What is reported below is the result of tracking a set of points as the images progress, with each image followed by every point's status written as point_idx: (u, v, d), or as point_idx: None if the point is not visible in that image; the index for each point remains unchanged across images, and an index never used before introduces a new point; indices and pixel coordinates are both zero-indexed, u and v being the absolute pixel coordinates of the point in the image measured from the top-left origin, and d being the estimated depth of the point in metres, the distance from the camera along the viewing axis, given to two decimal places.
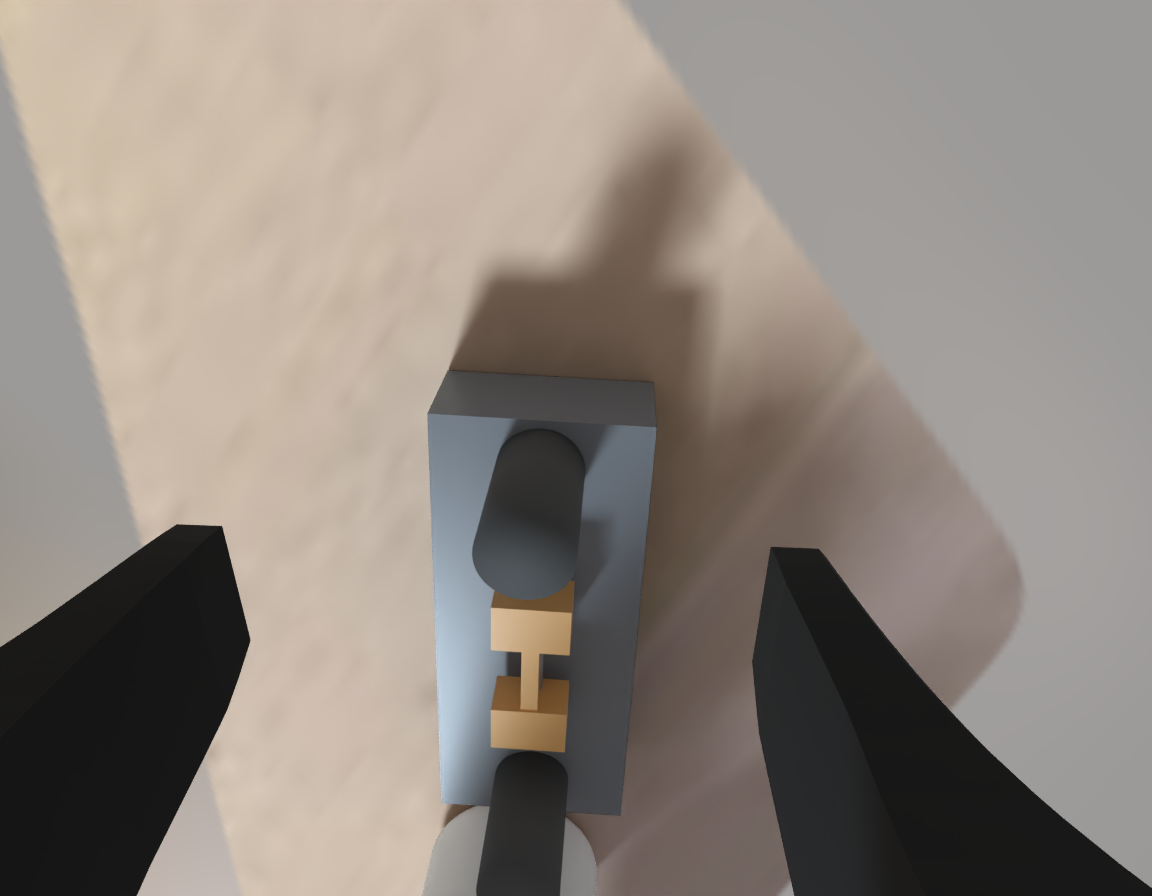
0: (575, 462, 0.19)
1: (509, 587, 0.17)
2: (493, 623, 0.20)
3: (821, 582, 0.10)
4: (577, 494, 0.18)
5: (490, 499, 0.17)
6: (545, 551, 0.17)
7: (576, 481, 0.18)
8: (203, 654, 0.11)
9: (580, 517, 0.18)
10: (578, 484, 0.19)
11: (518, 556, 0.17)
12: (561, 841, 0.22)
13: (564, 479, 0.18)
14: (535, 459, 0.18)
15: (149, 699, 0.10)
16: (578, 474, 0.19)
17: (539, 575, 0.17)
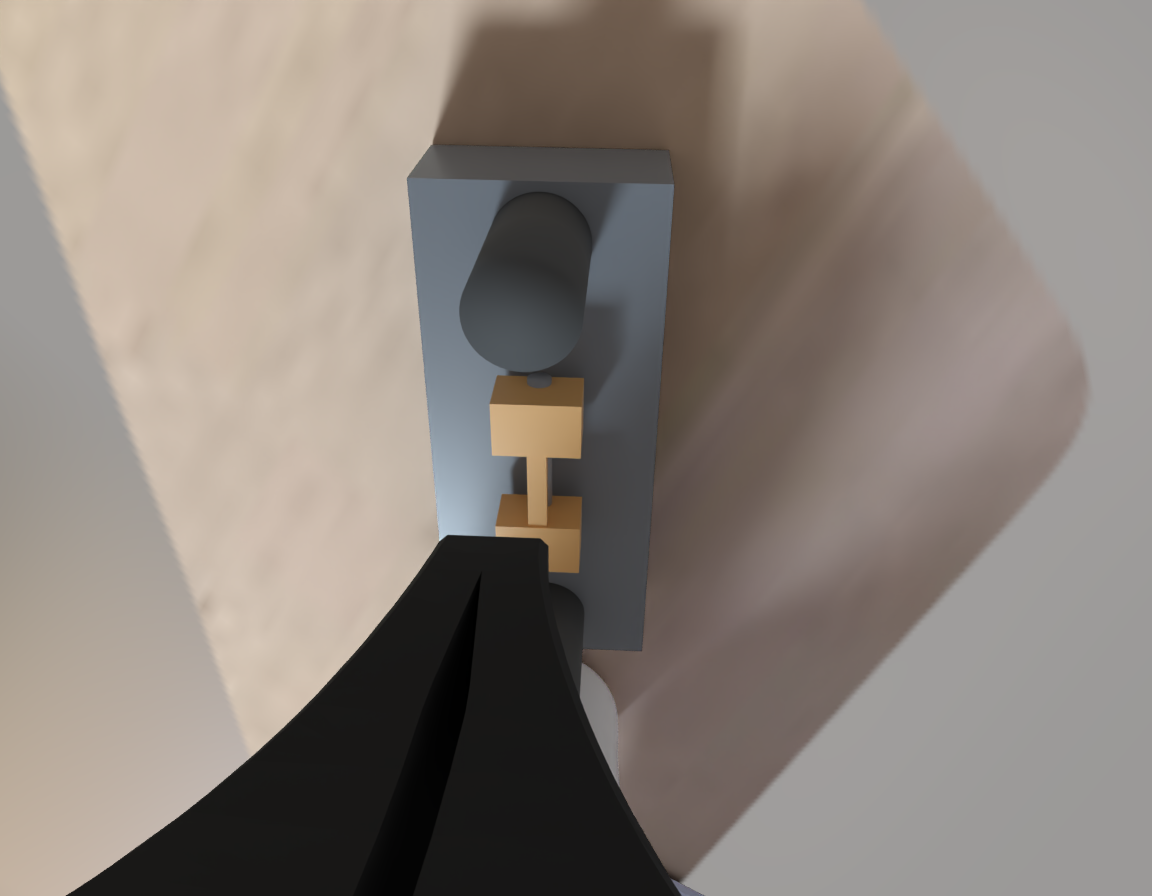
0: (579, 225, 0.16)
1: (505, 356, 0.15)
2: (493, 423, 0.18)
3: (519, 570, 0.10)
4: (582, 254, 0.16)
5: (479, 256, 0.15)
6: (545, 308, 0.14)
7: (581, 242, 0.16)
8: None
9: (586, 279, 0.15)
10: (583, 246, 0.16)
11: (513, 316, 0.14)
12: (578, 670, 0.20)
13: (567, 235, 0.15)
14: (531, 215, 0.16)
15: (460, 713, 0.10)
16: (583, 237, 0.16)
17: (539, 339, 0.15)
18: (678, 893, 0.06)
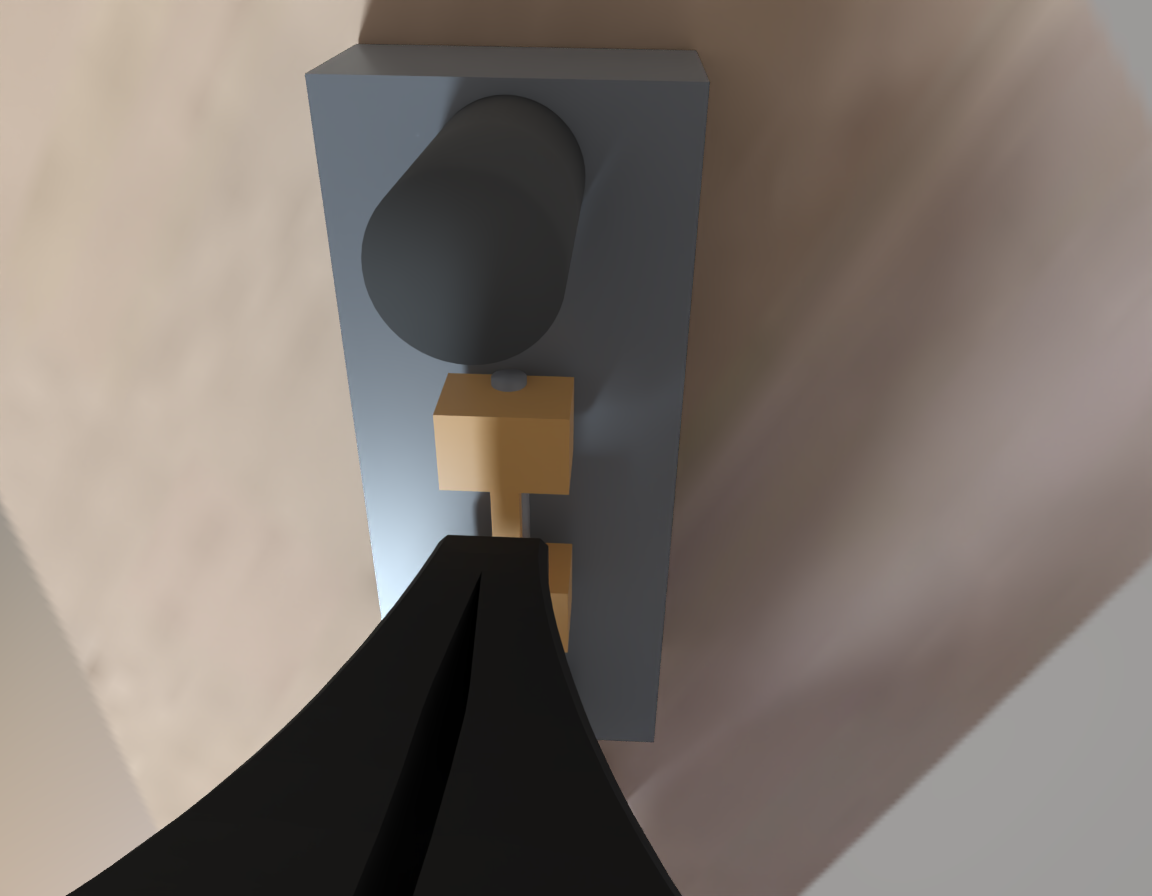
0: (564, 141, 0.11)
1: (441, 340, 0.09)
2: (439, 443, 0.12)
3: (518, 570, 0.10)
4: (567, 179, 0.10)
5: None
6: (503, 257, 0.09)
7: (566, 163, 0.10)
8: None
9: (573, 216, 0.10)
10: (570, 170, 0.10)
11: (451, 271, 0.09)
12: None
13: (541, 147, 0.10)
14: (487, 120, 0.10)
15: (460, 713, 0.10)
16: (570, 158, 0.10)
17: (495, 311, 0.09)
18: (678, 893, 0.06)
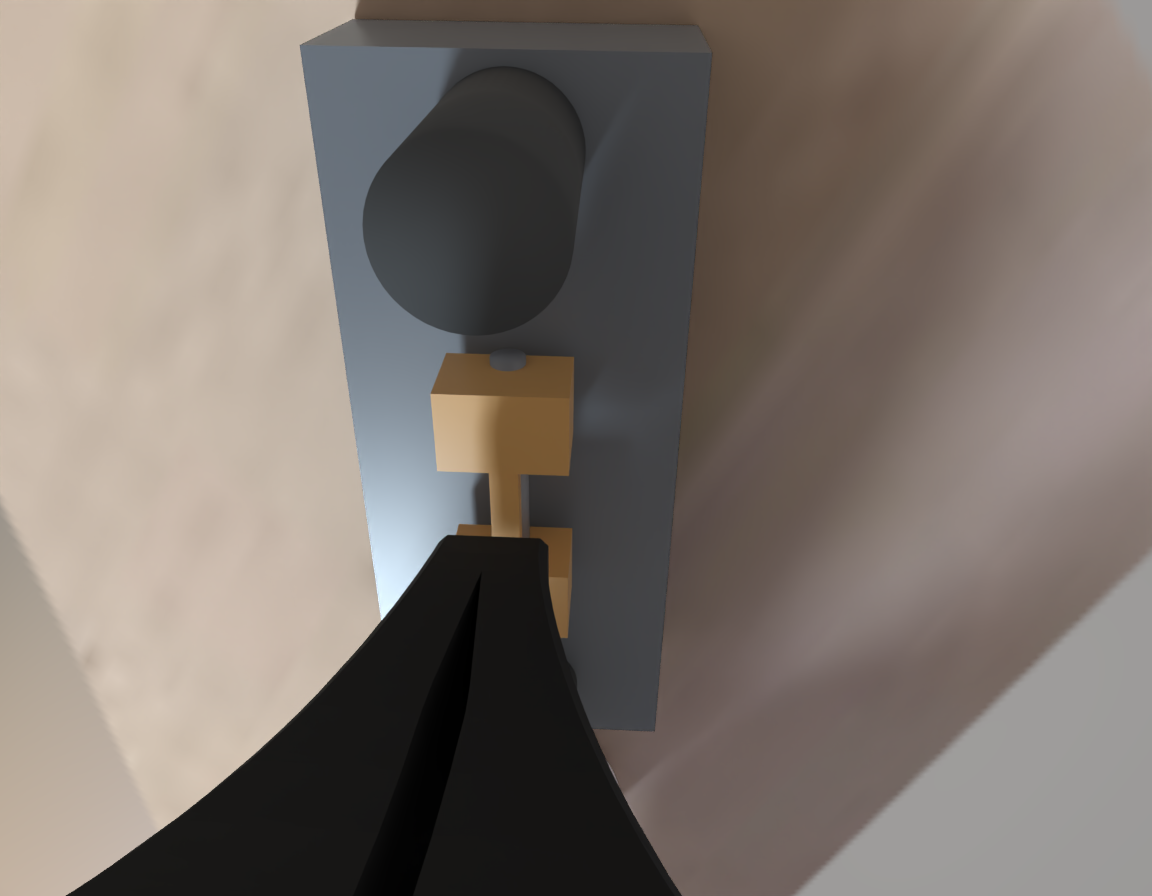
0: (564, 110, 0.10)
1: (446, 310, 0.09)
2: (437, 422, 0.12)
3: (518, 570, 0.10)
4: (570, 147, 0.10)
5: None
6: (508, 222, 0.08)
7: (568, 131, 0.10)
8: None
9: (578, 183, 0.09)
10: (572, 138, 0.10)
11: (456, 238, 0.08)
12: None
13: (543, 114, 0.09)
14: (486, 87, 0.10)
15: (460, 713, 0.10)
16: (571, 128, 0.10)
17: (501, 278, 0.09)
18: (678, 893, 0.06)
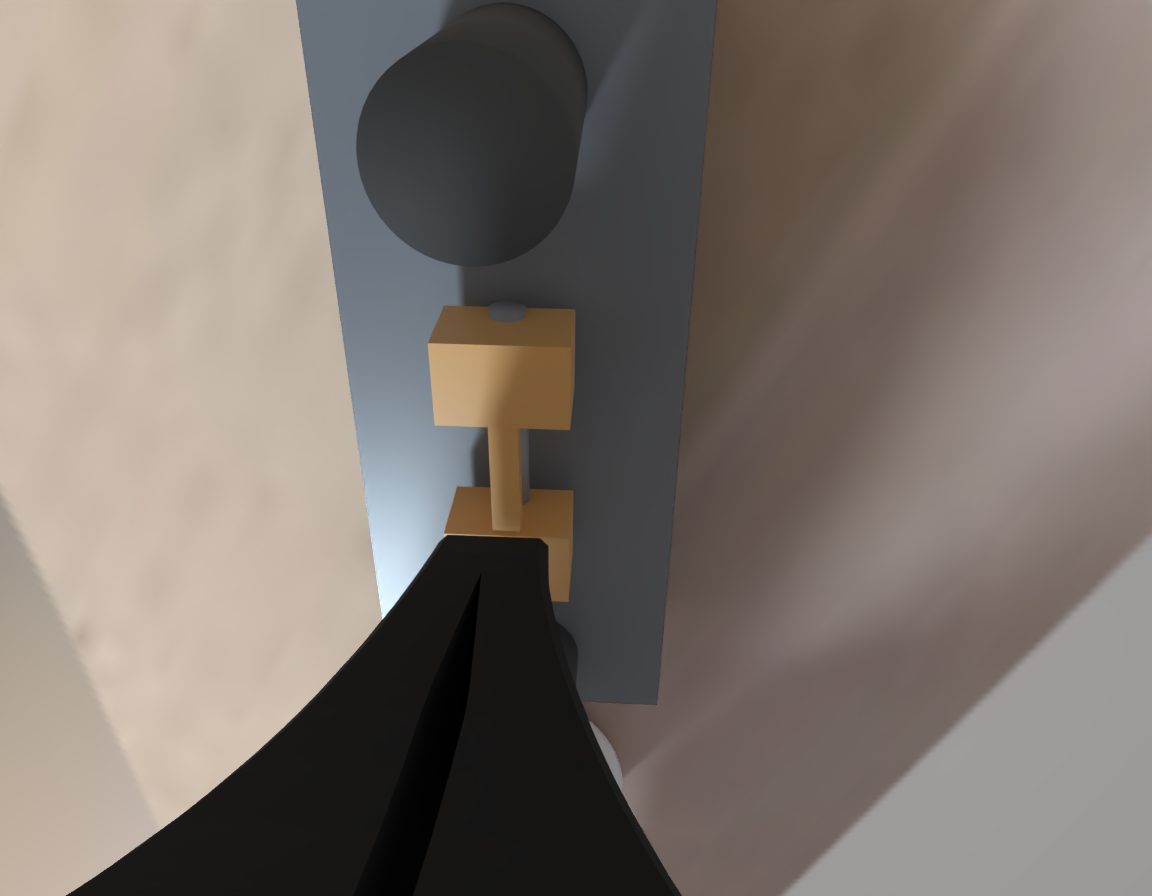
0: (566, 43, 0.10)
1: (444, 239, 0.08)
2: (434, 374, 0.11)
3: (518, 570, 0.10)
4: (571, 75, 0.09)
5: None
6: (507, 142, 0.08)
7: (568, 61, 0.10)
8: None
9: (579, 111, 0.09)
10: (573, 69, 0.10)
11: (453, 161, 0.08)
12: None
13: (543, 40, 0.09)
14: (485, 15, 0.09)
15: (460, 713, 0.10)
16: (572, 60, 0.10)
17: (501, 204, 0.08)
18: (678, 893, 0.06)
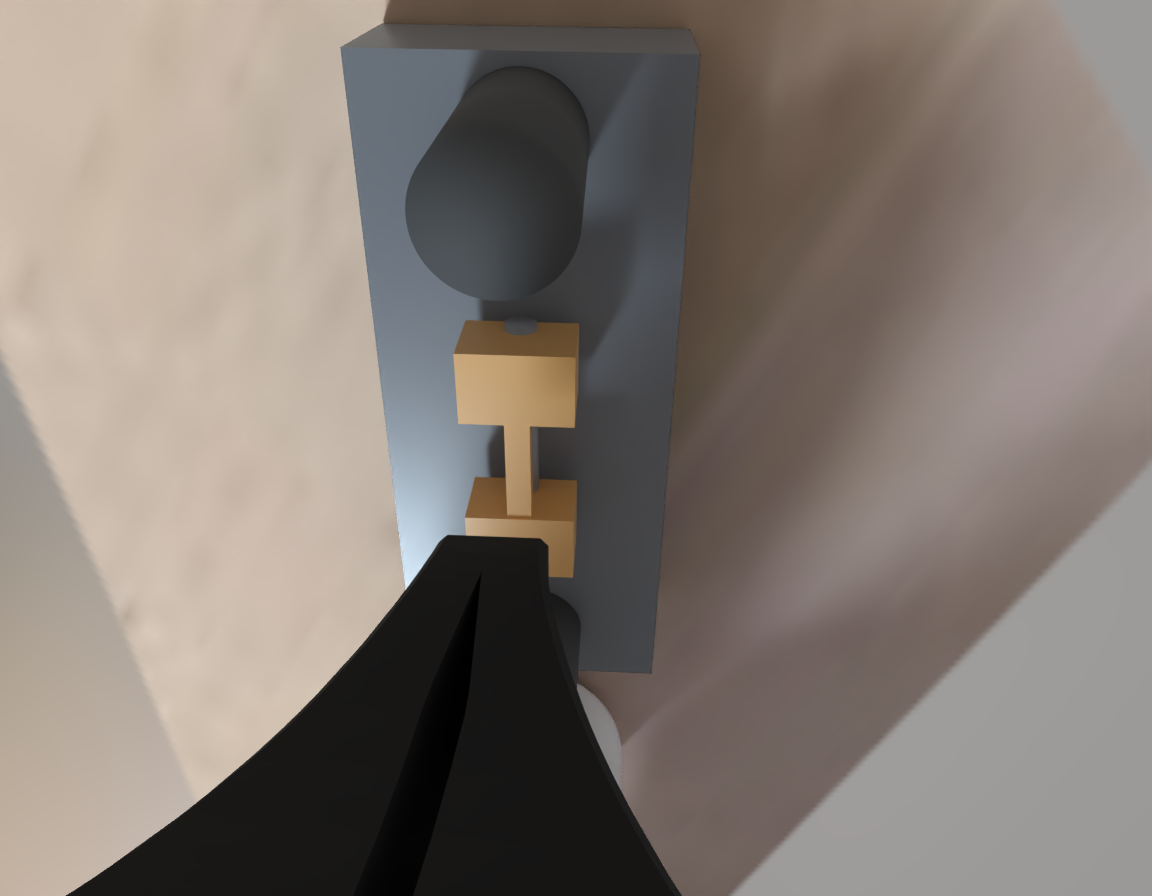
0: (570, 103, 0.12)
1: (476, 280, 0.10)
2: (459, 379, 0.13)
3: (518, 570, 0.10)
4: (576, 136, 0.11)
5: None
6: (526, 203, 0.10)
7: (573, 122, 0.11)
8: None
9: (583, 167, 0.11)
10: (577, 128, 0.12)
11: (483, 219, 0.10)
12: None
13: (552, 108, 0.11)
14: (502, 87, 0.11)
15: (460, 713, 0.10)
16: (576, 118, 0.12)
17: (522, 251, 0.10)
18: (677, 893, 0.06)
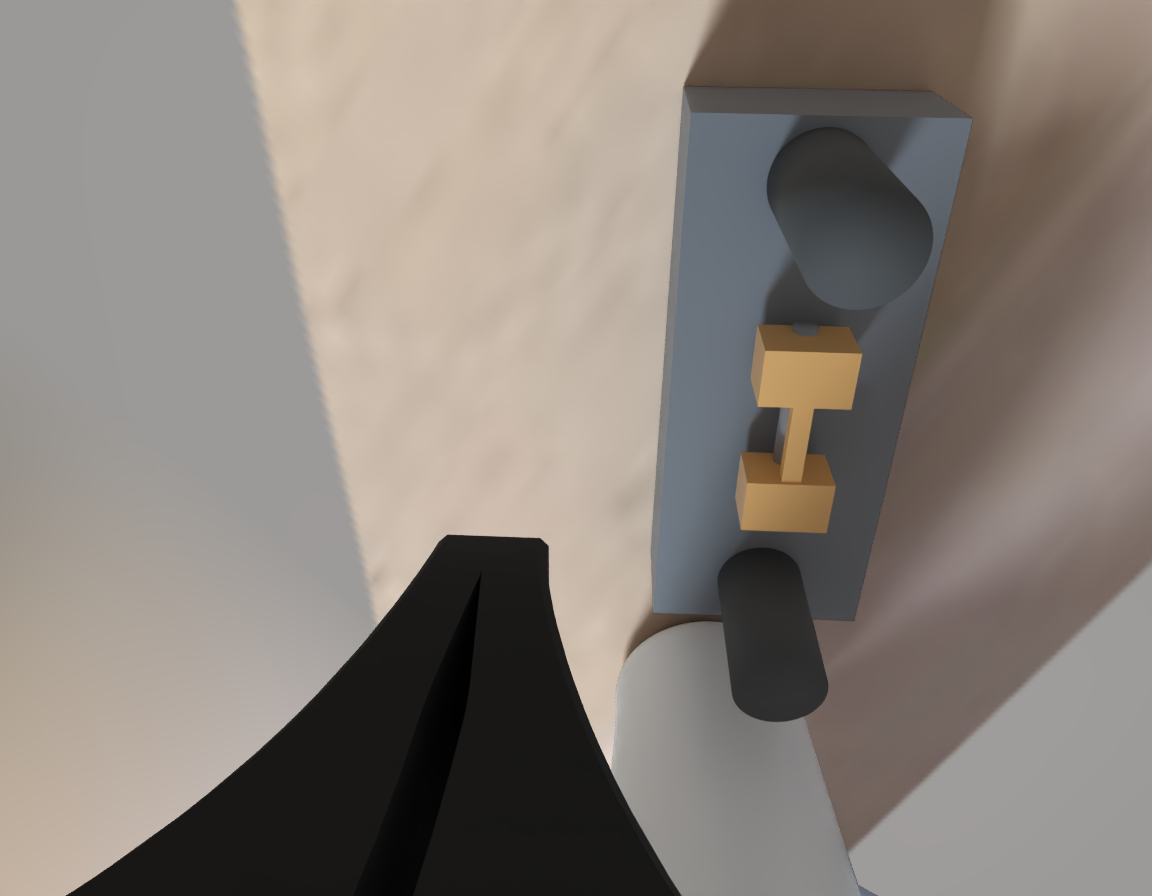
0: None
1: (843, 294, 0.14)
2: (765, 371, 0.17)
3: (519, 570, 0.10)
4: None
5: (804, 193, 0.14)
6: (892, 237, 0.14)
7: None
8: None
9: None
10: None
11: (857, 249, 0.14)
12: None
13: (884, 164, 0.15)
14: (841, 148, 0.15)
15: (460, 713, 0.10)
16: None
17: (882, 272, 0.14)
18: (678, 893, 0.06)
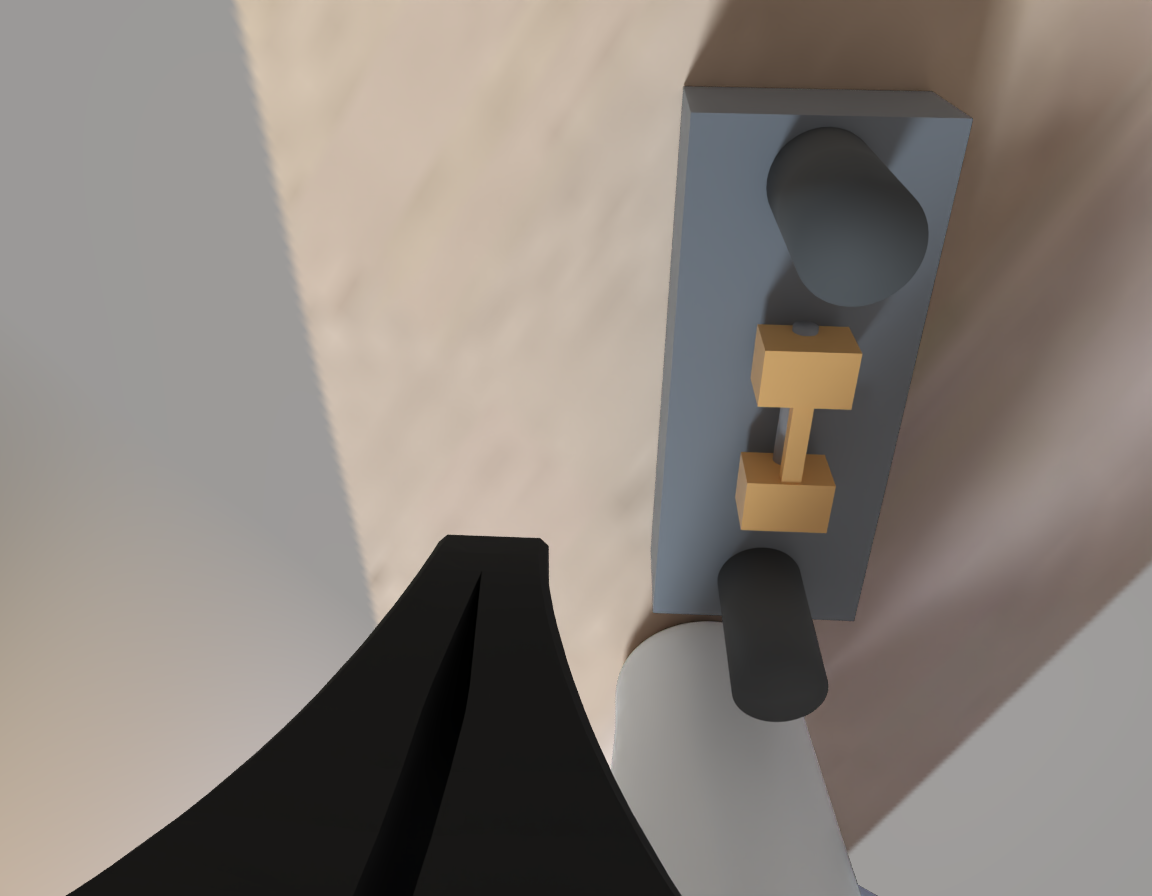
0: None
1: (838, 291, 0.14)
2: (765, 371, 0.17)
3: (519, 570, 0.10)
4: None
5: (800, 190, 0.14)
6: (887, 234, 0.14)
7: None
8: None
9: None
10: None
11: (852, 246, 0.14)
12: None
13: (881, 161, 0.15)
14: (838, 146, 0.15)
15: (460, 713, 0.10)
16: None
17: (877, 269, 0.14)
18: (678, 893, 0.06)
